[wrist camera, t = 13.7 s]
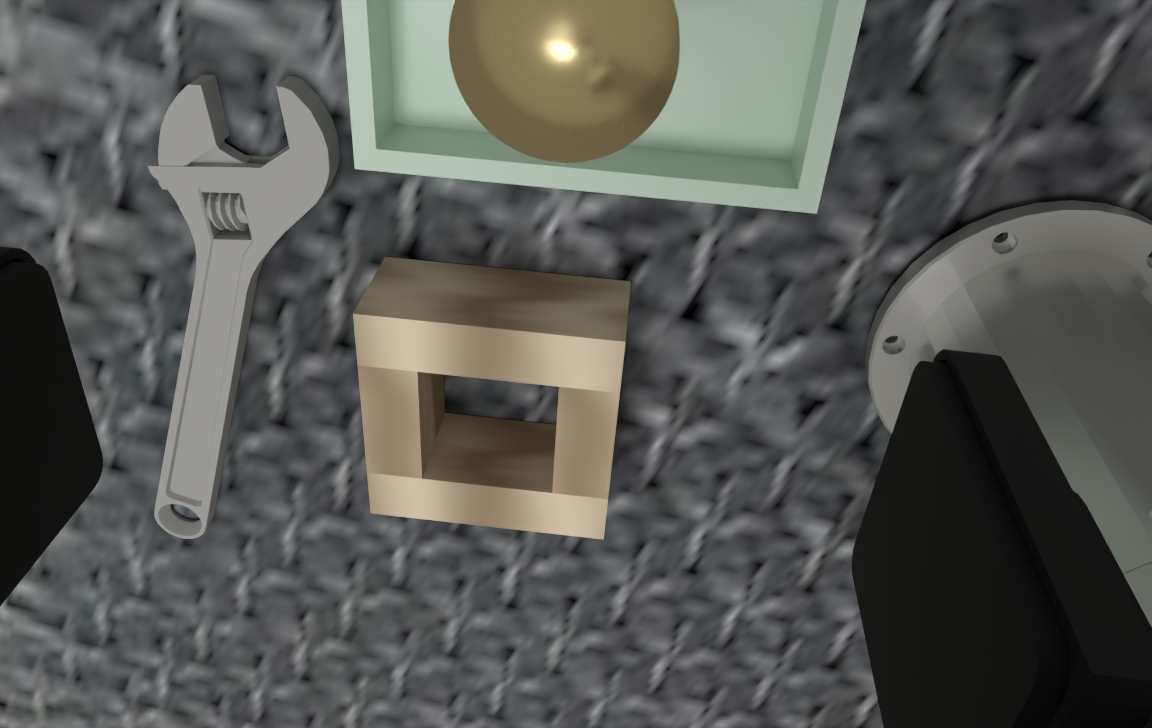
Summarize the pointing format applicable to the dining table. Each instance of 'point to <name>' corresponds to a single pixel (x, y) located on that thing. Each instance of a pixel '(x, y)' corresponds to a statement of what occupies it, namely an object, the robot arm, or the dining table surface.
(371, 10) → the tray
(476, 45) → the gold-capped cylinder
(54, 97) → the dining table surface
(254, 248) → the adjustable wrench
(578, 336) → the block
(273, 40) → the dining table surface
